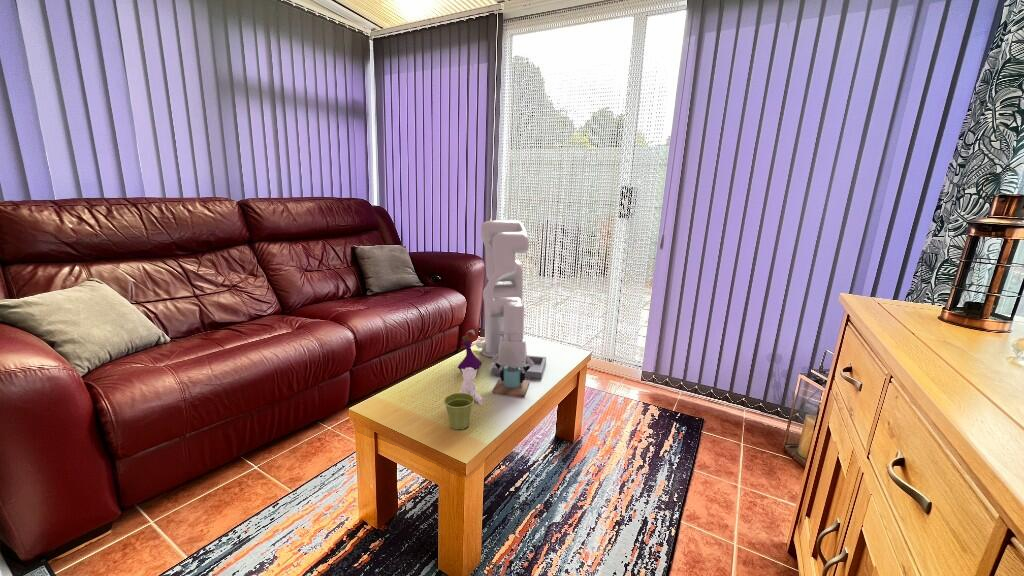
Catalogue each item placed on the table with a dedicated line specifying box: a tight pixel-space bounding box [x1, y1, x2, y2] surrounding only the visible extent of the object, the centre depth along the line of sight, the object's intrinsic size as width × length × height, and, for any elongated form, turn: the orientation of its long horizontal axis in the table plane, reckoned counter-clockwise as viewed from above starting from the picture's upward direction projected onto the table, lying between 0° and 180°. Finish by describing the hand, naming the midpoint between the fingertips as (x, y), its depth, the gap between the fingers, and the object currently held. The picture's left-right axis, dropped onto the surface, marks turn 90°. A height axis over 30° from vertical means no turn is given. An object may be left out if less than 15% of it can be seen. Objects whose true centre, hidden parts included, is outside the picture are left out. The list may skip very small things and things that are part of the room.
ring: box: [503, 366, 521, 388], centre depth 157 cm, size 7×8×6 cm
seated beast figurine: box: [459, 367, 484, 406], centre depth 145 cm, size 10×9×12 cm
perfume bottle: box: [457, 329, 483, 374], centre depth 166 cm, size 8×8×18 cm
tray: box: [491, 355, 547, 381], centre depth 172 cm, size 20×16×3 cm
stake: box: [491, 367, 531, 398], centre depth 154 cm, size 12×12×8 cm
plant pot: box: [443, 392, 475, 430], centre depth 129 cm, size 9×9×9 cm
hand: (512, 380), depth 156 cm, fingers closed on ring, 6 cm apart
